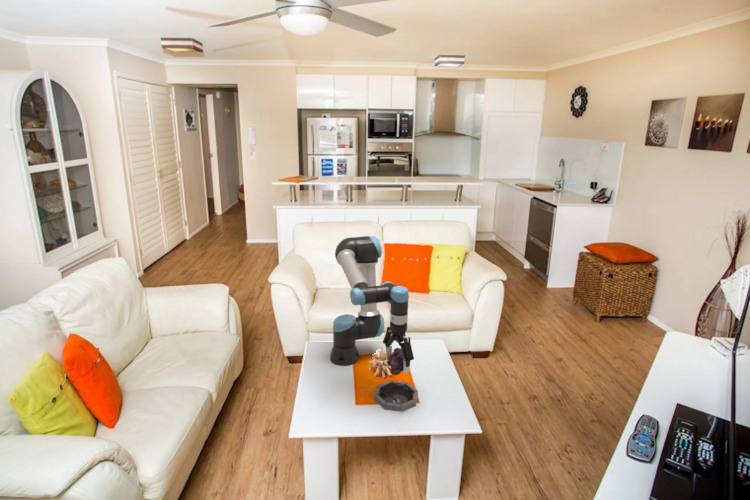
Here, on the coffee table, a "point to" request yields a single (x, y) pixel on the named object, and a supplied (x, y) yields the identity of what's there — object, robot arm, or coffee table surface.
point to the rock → (396, 361)
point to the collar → (396, 395)
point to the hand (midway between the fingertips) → (397, 365)
